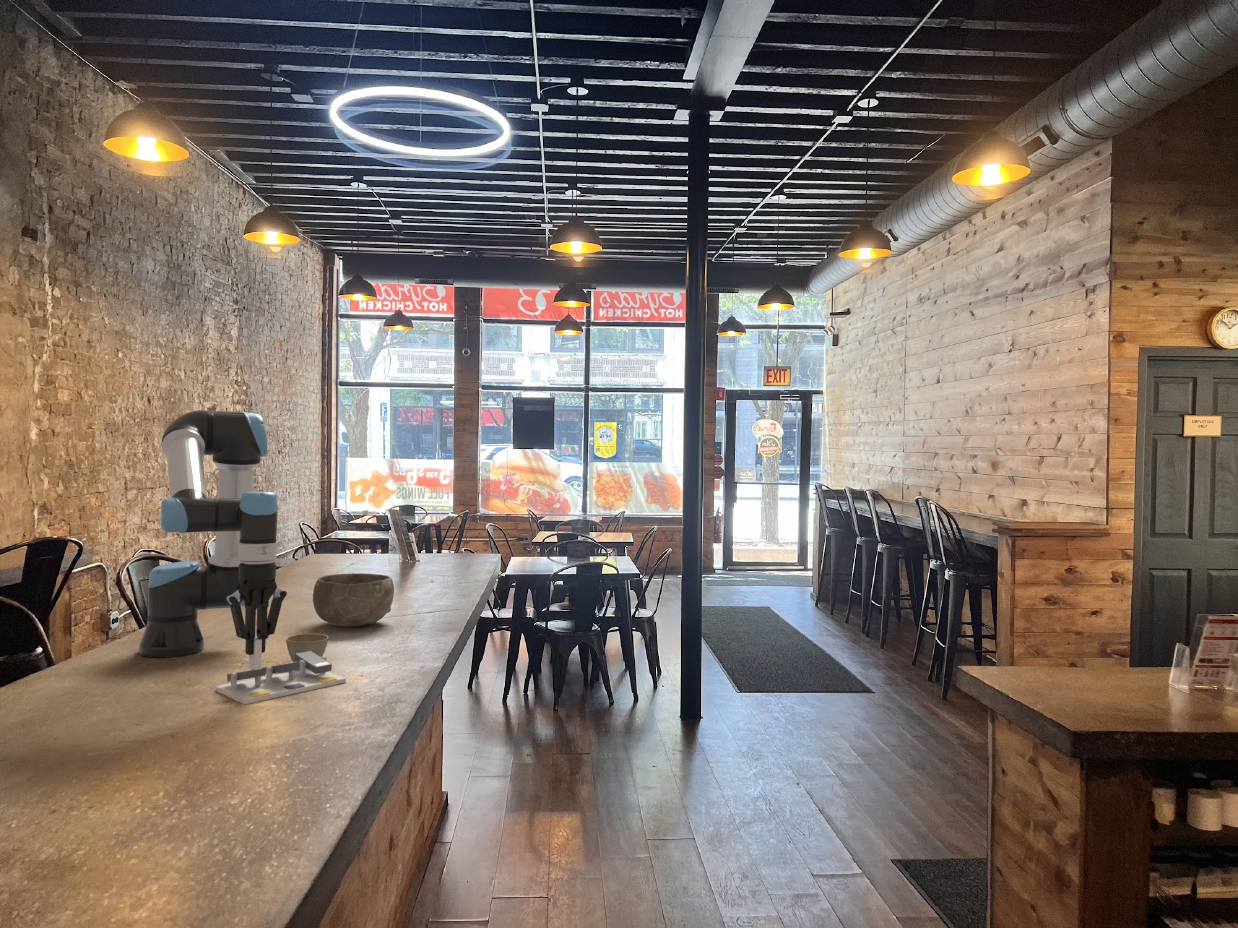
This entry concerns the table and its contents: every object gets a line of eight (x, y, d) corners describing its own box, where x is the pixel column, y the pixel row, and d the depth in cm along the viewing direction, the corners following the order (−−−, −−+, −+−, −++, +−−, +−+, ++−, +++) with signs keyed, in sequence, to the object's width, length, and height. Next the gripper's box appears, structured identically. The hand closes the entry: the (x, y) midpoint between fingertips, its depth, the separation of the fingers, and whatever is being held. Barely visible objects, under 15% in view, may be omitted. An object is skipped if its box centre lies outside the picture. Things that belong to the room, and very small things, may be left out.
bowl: (409, 624, 255) (411, 577, 255) (347, 637, 235) (348, 586, 235) (359, 614, 268) (360, 569, 268) (295, 625, 248) (296, 577, 247)
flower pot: (313, 672, 198) (313, 643, 198) (276, 668, 200) (277, 640, 200) (335, 662, 207) (336, 634, 207) (300, 659, 209) (301, 631, 209)
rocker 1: (226, 681, 181) (226, 673, 181) (246, 677, 184) (245, 670, 185) (246, 678, 175) (246, 670, 175) (266, 675, 178) (265, 667, 178)
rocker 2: (261, 674, 187) (260, 667, 187) (279, 671, 190) (279, 664, 191) (282, 671, 181) (281, 664, 181) (300, 668, 184) (299, 660, 184)
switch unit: (215, 690, 181) (216, 669, 181) (315, 670, 199) (315, 651, 199) (244, 704, 172) (244, 681, 171) (345, 682, 190) (346, 662, 190)
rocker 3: (293, 660, 194) (294, 653, 193) (310, 656, 197) (311, 650, 197) (314, 674, 187) (315, 667, 187) (332, 670, 190) (332, 663, 190)
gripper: (235, 565, 169) (232, 677, 170) (294, 561, 179) (291, 666, 180) (219, 562, 174) (217, 670, 174) (278, 557, 184) (275, 660, 184)
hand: (254, 668), depth 177 cm, fingers closed
